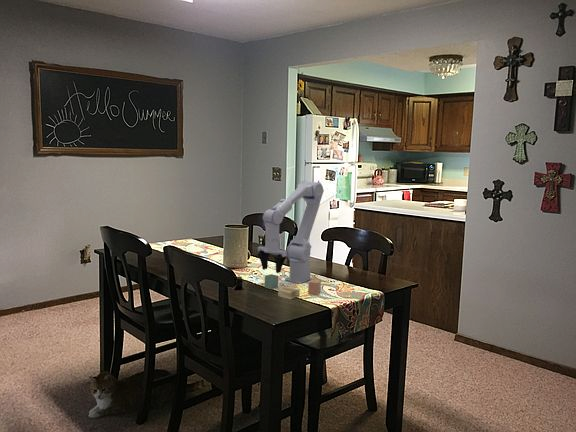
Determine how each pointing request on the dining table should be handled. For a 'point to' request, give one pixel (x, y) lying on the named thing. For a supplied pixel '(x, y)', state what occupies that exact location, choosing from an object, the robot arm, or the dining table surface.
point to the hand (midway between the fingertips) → (271, 270)
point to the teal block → (271, 281)
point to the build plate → (239, 285)
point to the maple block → (288, 292)
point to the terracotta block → (314, 287)
